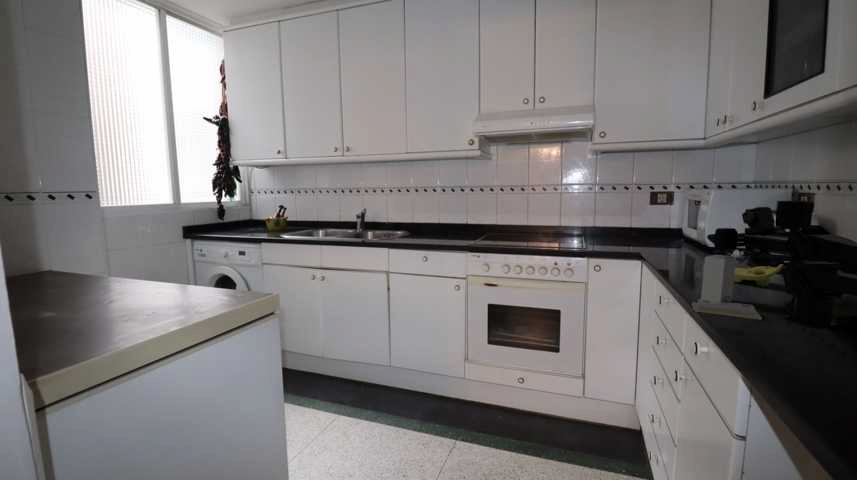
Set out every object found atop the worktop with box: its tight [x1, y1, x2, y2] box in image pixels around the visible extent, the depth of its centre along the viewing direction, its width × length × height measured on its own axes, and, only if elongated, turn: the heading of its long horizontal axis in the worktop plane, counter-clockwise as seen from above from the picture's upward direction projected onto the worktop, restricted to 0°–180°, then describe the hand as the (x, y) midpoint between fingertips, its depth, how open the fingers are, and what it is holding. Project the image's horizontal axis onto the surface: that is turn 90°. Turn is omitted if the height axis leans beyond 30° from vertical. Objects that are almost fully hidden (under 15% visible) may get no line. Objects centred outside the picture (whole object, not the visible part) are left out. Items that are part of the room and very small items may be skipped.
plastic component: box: [702, 263, 784, 287], centre depth 129 cm, size 20×7×10 cm
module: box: [700, 254, 737, 303], centre depth 107 cm, size 5×7×12 cm
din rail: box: [691, 298, 763, 320], centre depth 99 cm, size 13×7×2 cm, turn 62°
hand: (722, 236), depth 114 cm, fingers open, 9 cm apart
